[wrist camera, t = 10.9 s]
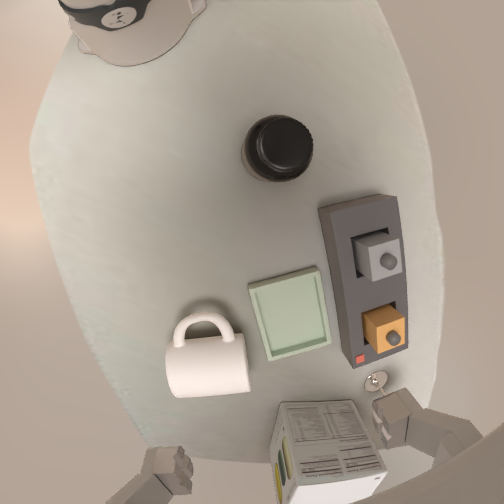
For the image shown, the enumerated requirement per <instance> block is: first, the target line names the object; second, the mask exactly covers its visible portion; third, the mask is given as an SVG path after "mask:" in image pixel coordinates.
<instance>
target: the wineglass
mask: <svg viewBox="0 0 504 504" xmlns="http://www.w3.org/2000/svg"><path fill="white" fill-rule="evenodd" d="M387 378H388V377H387V374H386V373H385V372H383V371H378V372H375V373H373V374H371V375H370V376H369V377H368V378H367V380H366V381H365V389H366V390H367V391H370V392H373V391H377V390H379V389H380V390H381V392H382V394H383V396H386V395H388V394H387V393H386V392H385V391H384V390H383V388H382V387H383V386H384V385H385V383H386V382H387Z"/></svg>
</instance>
